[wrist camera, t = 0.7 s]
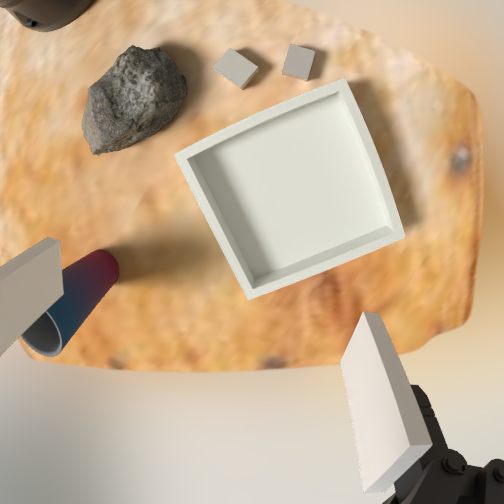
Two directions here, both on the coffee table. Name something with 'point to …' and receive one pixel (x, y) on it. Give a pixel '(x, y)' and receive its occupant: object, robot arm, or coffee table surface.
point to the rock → (132, 100)
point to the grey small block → (236, 68)
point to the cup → (73, 302)
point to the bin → (293, 189)
